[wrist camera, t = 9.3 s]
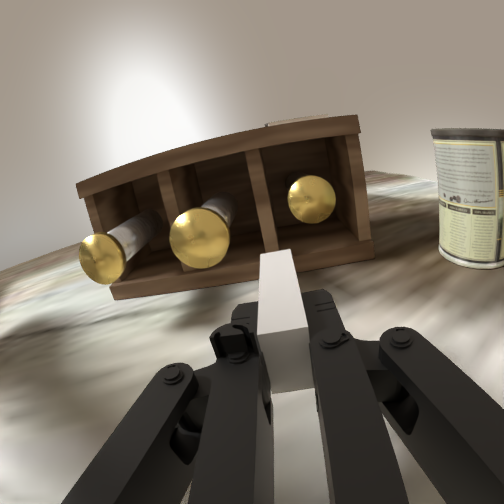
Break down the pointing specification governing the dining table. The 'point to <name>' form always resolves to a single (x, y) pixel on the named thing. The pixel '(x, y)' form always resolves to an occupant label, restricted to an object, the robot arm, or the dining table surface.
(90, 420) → the dining table surface
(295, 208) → the button
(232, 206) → the button
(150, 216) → the button
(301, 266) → the box
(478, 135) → the coffee can
